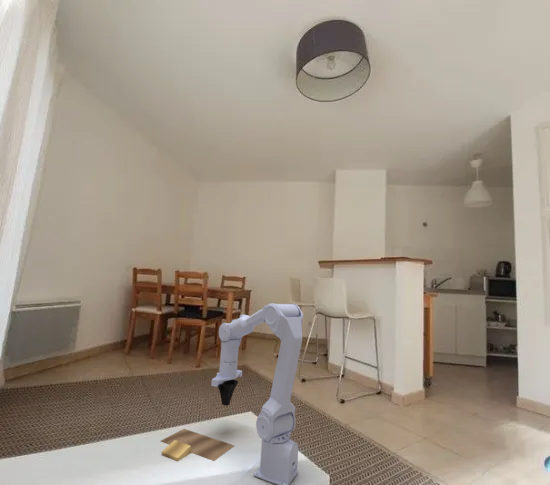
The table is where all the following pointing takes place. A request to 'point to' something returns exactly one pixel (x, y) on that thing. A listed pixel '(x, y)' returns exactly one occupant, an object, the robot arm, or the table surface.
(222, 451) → the deck
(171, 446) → the tile
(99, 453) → the table surface
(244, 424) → the table surface
